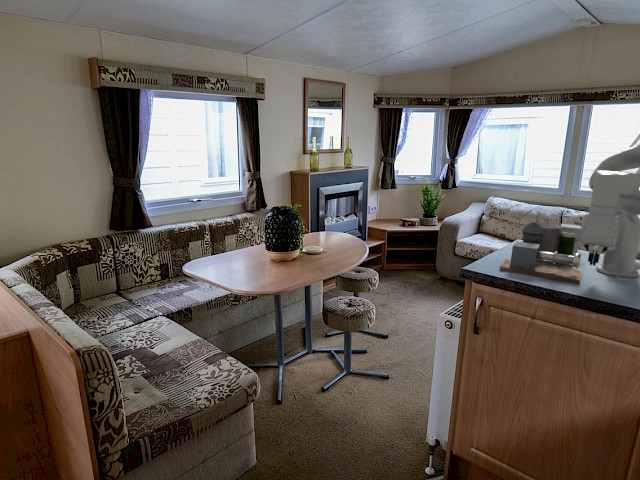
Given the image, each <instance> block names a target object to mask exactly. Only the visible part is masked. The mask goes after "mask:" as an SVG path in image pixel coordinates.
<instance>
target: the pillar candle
mask: <svg viewBox="0 0 640 480" xmlns="http://www.w3.org/2000/svg"><path fill="white" fill-rule="evenodd" d="M537 223H538V224H539V225H540V226H541V227H542V229H543V235H542V238H541V240H540V249H539V251H543V252H550V253H555V251H558V245H559V239H560V234H561V230H562V227H561V226H560V224H555V223H550V222H549V221H548V222H537ZM538 261H542V262H548V261H547V260H540V259H538Z"/></svg>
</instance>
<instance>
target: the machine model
mask: <svg viewBox="0 0 640 480" xmlns="http://www.w3.org/2000/svg"><path fill="white" fill-rule="evenodd" d="M511 248H512V249H511V256H510V258H509V259H508V258H506V259H505V260H504V261H503V262H502V263H501V265H500V266H499V271H501V272H507V273H512V274H517V275H524V276H528V277H529V276H530V277H533V278H534V277H535V278H541V279H545V280H551V281H556V282H561V283H569V284H575V285H578V286H579V285H580V283H581V282H580V280H581V274H582V270H576V269H570V268H565V267H557V266H552V265H546V264H541V263H540V264H539V263H538V261H539V260H538V259H537V252H538V251H539V249H540V244H533V243H525V242H523V241H517V240H516V241H515V243H513V245H512V247H511Z"/></svg>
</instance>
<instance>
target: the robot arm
mask: <svg viewBox="0 0 640 480" xmlns="http://www.w3.org/2000/svg"><path fill="white" fill-rule="evenodd" d="M634 169H637V170H636V171H635V173H634V172H627V170H634ZM588 186H589V188H590V190H591V191H592V192H591V193H592V194H591V198H590V204H589V210H588V212H585V215H584V217H583V221H582V224H581V231H580V239H579V241H578V243H577V244H578V245H579V246H578V247H583V248H584V249H586V250H587V252H588V256H587V257H588V258H587V262H588V263H589V266H594V267H595V266H596V269H595V270H596V271H598V272H600V273H602V274H605V275H609V276H613V277H618V278H619V277H620V278H630V279H633V278H637V277H638V276H639V272H638V271H639V270H640V262H637V255H638V250H639V248H640V217H639V216H640V133H639V134H638V135H637V137H636V138H635V139H634V141H633V142H632V143H631V145H629V147H628V148H627V149H624V150H621V151H620V152H618V153H617V152H616V153H614V154H613V155H611V156H608V157H607V158H605V159H603V161H601V162H600V163H599V165H597V167H596V168H595V169H594V171H593V173H591V175H590V177H589V181H588ZM594 246H598V248H597V249H596V251H595V250H594ZM602 253H604V254H603V259H602V263H600V264H599V261H600V255H601V254H602ZM596 264H598V265H596Z"/></svg>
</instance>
